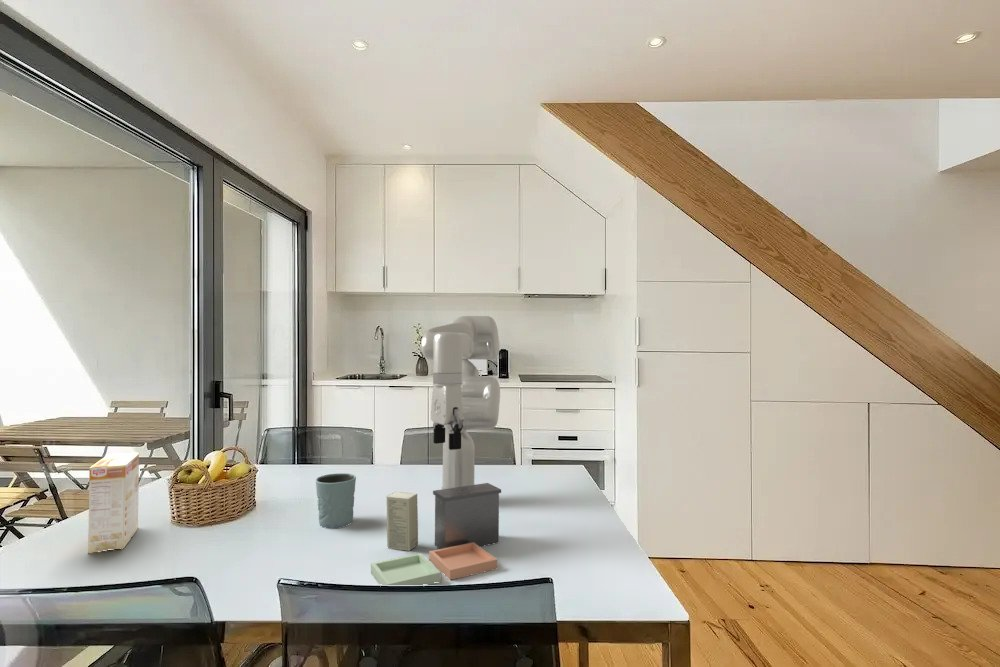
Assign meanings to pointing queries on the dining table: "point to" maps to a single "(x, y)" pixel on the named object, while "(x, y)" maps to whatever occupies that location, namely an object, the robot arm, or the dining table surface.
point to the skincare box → (402, 521)
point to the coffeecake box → (113, 501)
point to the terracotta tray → (462, 560)
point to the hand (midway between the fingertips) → (446, 446)
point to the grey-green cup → (335, 499)
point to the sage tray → (406, 571)
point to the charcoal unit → (467, 515)
